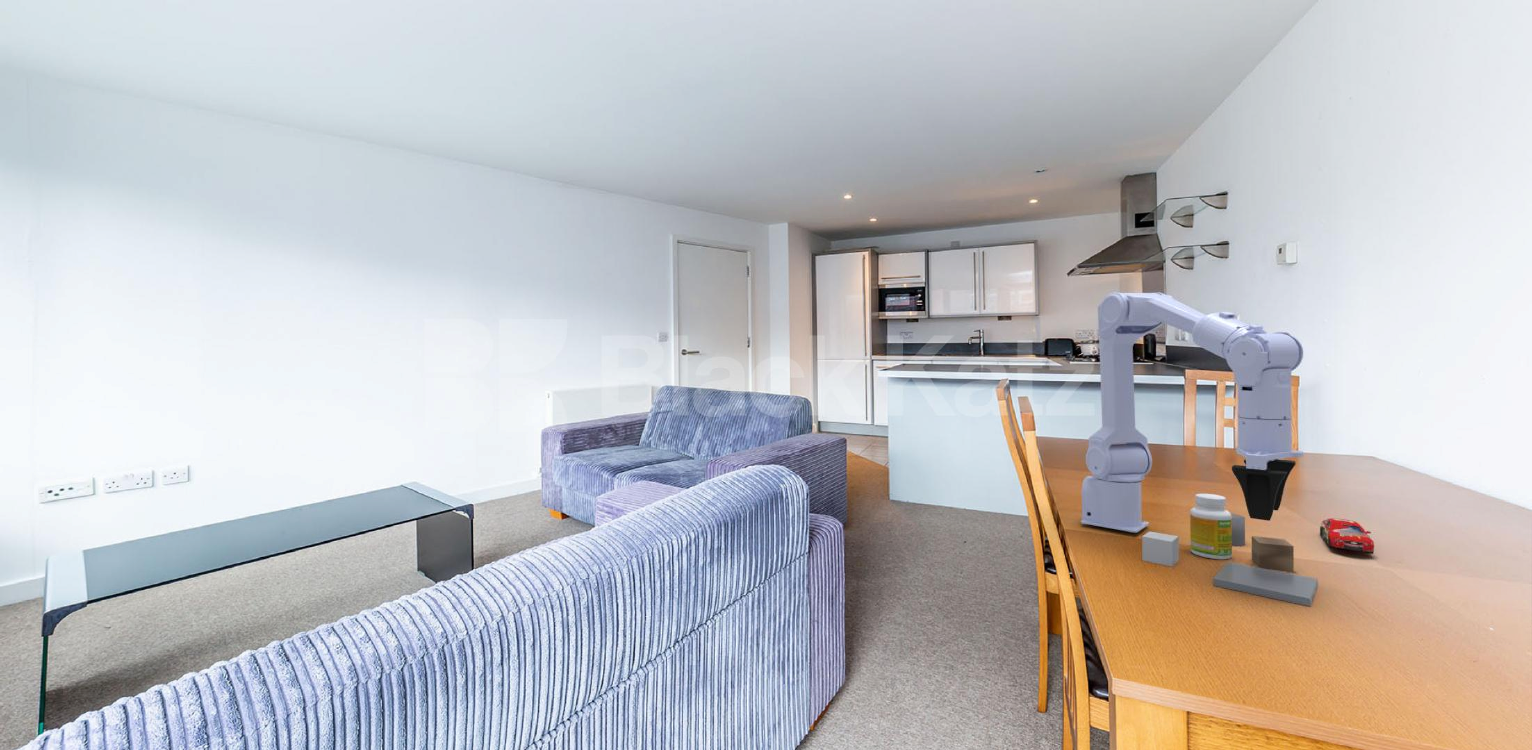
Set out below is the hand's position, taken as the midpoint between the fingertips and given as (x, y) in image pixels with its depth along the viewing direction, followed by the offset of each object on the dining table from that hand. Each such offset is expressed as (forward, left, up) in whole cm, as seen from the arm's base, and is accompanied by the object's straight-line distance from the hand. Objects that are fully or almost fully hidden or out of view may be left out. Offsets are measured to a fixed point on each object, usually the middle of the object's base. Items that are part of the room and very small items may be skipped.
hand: (1264, 513), depth 81 cm
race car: (+8, +27, -12) cm, 31 cm away
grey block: (-13, +2, -10) cm, 17 cm away
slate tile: (0, 0, -10) cm, 10 cm away
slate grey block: (-7, +20, -10) cm, 24 cm away
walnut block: (0, +11, -10) cm, 15 cm away
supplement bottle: (-8, +11, -10) cm, 17 cm away
